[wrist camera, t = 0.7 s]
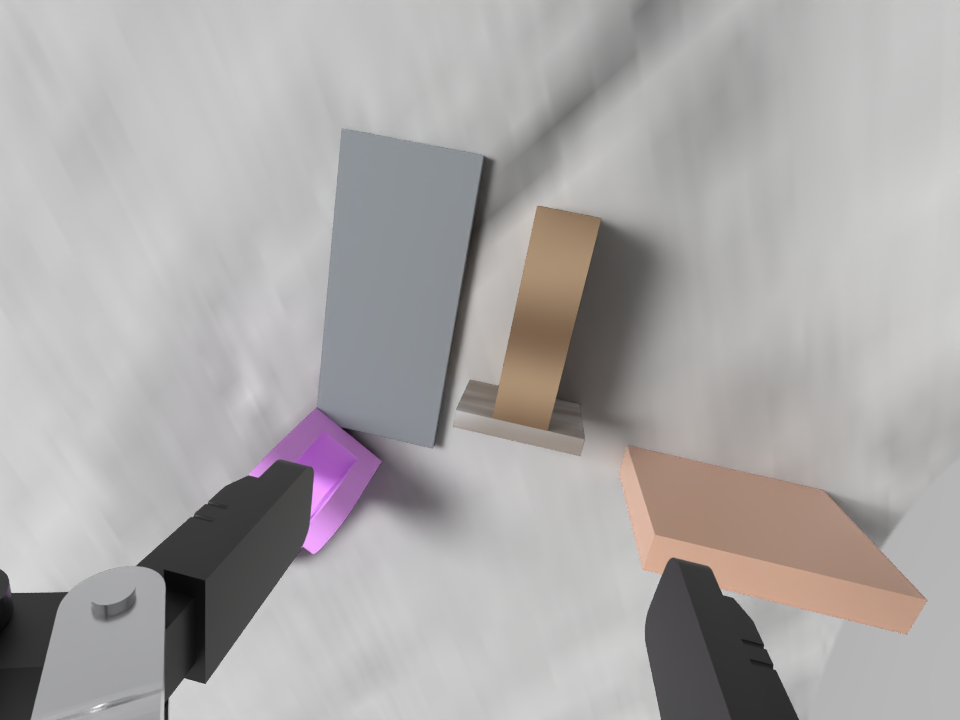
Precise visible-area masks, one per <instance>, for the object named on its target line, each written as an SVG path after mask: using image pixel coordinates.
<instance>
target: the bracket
mask: <svg viewBox="0 0 960 720" xmlns="http://www.w3.org/2000/svg"><path fill="white" fill-rule="evenodd" d="M279 459H282V460H286V461H290V462H294V463H298V464H302V465H306V466H310V467H312V468H313V470H314V482H313V493H312V505H311V517H310V525H309V530H308V534H307V537H306V539H305V542H304V544H303V546H302V547H304V548H306V549H307V550H308V551H309V552H311V553H312V554H315V553H316V552H317V551H319V550H320V549H321V548H322V547H323V546H324V544H325V543H326V542H327V541H328V540H329V539H330V538H331V537H332V535H333V534H334V533H335V532H336V531H337V529H338V528H339V527H340V526H341V524H342V523H343V522H344V520H345V519H346V518H347V516H348V515H349V513H350V512H351V510H352V509H353V507H354V505H355V504H356V502H357V501H358V499H359V497H360V496H361V494H362V493H363V491H364V489H365V488H366V486H367V485H368V483H369V481H370V480H371V478H372V476H373V475H374V473H375V472H376V470H377V468H378V467H379V465H380V464H381V462H382V461H381V460H380V459H378V458H377V457H376V456H375V455H374V454H372V453H371V452H370V451H369V450H367V449H366V448H365V447H364V446H363V445H361V444H360V443H359V442H358V441H357V440H355V439H354V438H353V437H352V436H350V435H349V434H348V433H347V432H346V431H344V430H343V429H342V428H341V427H340V426H338V425H337V424H336V423H335V422H333V421H332V420H331V419H330V418H329V417H327V416H326V415H325V414H324V413H322V412H321V411H320V410H319V409H318V408H316V409H315V410H313V411H312V412H311V413H310V414H309V415H308V416H307V417H306V418H305V419H304V420H303V421H302V422H301V423H300V424H299V425H298V426H297V427H296V428H295V429H294V430H292V431H291V432H290V433H289V434H288V435H287V436H286V437H285V438H284V439H283V440H282V441H281V442H280V443H279V444H278V445H277V446H276V447H275V448H274V449H273V450H272V451H271V452H270V453H269V454H268V455H267V456H266V457H265V458H264V459H263V460H262V461H261V462H260V463H259V464H258V465H257V466H256V467H255V468H254V469H253V471H252V472H251V473H250V474H249V475H248V476H253V477H257V478H259V477H260V476H261V475H262V474H263V473H264V472H265V471H266V470H267V469H268V468H269V467H270V466H271V465H272V464H273V463H274V462H276V461H277V460H279Z"/></svg>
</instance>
